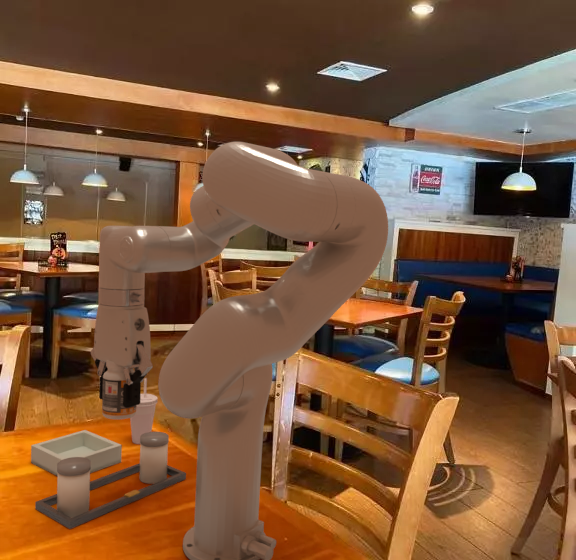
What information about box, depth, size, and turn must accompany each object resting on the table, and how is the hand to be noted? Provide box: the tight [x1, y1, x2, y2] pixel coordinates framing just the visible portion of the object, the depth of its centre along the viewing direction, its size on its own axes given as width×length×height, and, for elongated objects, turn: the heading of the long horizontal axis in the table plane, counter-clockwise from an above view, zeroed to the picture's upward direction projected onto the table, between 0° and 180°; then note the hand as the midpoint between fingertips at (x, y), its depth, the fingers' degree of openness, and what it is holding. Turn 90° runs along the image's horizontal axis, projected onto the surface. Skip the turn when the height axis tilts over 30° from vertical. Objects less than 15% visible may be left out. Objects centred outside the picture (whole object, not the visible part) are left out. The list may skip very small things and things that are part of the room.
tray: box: [30, 429, 123, 477], centre depth 116 cm, size 12×12×4 cm
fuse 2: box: [138, 431, 170, 485], centre depth 111 cm, size 5×5×8 cm
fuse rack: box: [34, 462, 187, 530], centre depth 104 cm, size 10×25×1 cm, turn 144°
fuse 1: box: [56, 457, 91, 518], centre depth 97 cm, size 5×5×8 cm
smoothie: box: [129, 377, 158, 445], centre depth 128 cm, size 6×6×14 cm
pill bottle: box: [101, 360, 136, 420], centre depth 102 cm, size 6×6×10 cm
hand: (119, 400), depth 102 cm, fingers closed on pill bottle, 5 cm apart
